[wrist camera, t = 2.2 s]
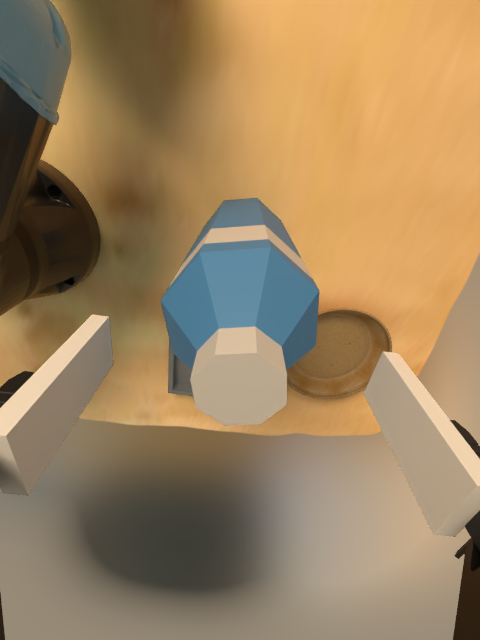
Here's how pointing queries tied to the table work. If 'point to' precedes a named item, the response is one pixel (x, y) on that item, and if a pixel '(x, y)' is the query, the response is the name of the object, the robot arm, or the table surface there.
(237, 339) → the water bottle
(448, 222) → the table surface
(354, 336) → the plant saucer
